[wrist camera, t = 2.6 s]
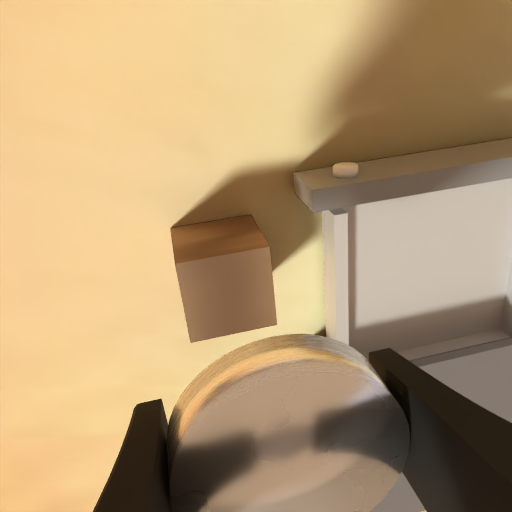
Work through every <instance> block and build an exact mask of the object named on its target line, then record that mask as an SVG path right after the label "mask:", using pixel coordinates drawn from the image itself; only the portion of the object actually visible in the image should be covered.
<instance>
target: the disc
mask: <svg viewBox="0 0 512 512" xmlns="http://www.w3.org/2000/svg"><path fill="white" fill-rule="evenodd" d="M409 445H410V431H409V426H408V421H407V419H406V416H405V414H404V411H403V410H402V408H401V407H400V405H399V404H398V402H397V401H396V399H395V398H394V396H393V395H392V393H391V392H390V391H389V389H388V388H387V386H386V385H385V384H384V382H383V381H382V379H381V378H380V376H379V375H378V374H377V372H376V371H375V369H374V368H373V366H372V365H371V364H370V362H369V361H368V360H367V359H366V358H365V357H364V356H363V355H362V354H361V353H359V352H358V351H357V350H355V349H354V348H353V347H351V346H349V345H347V344H345V343H343V342H341V341H338V340H335V339H332V338H329V337H324V336H319V335H310V334H289V335H281V336H274V337H269V338H265V339H262V340H258V341H255V342H252V343H249V344H247V345H244V346H242V347H239V348H237V349H235V350H233V351H231V352H230V353H228V354H226V355H224V356H222V357H221V358H219V359H218V360H216V361H215V362H213V363H212V364H211V365H209V366H208V367H207V368H206V369H205V370H203V371H202V372H201V373H200V374H199V375H198V376H197V377H196V378H195V379H194V380H193V381H192V382H191V383H190V384H189V385H188V387H187V388H186V389H185V391H184V392H183V393H182V395H181V396H180V398H179V400H178V402H177V403H176V405H175V407H174V409H173V412H172V415H171V417H170V420H169V425H168V430H167V457H168V473H169V490H170V499H171V505H172V508H173V511H174V512H370V511H371V510H373V509H374V508H375V507H376V506H377V505H378V504H379V503H380V502H381V501H382V500H383V498H384V497H385V496H386V495H387V494H388V492H389V491H390V490H391V489H392V487H393V486H394V484H395V483H396V481H397V479H398V478H399V476H400V474H401V472H402V470H403V468H404V465H405V462H406V459H407V456H408V451H409Z"/></svg>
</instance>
